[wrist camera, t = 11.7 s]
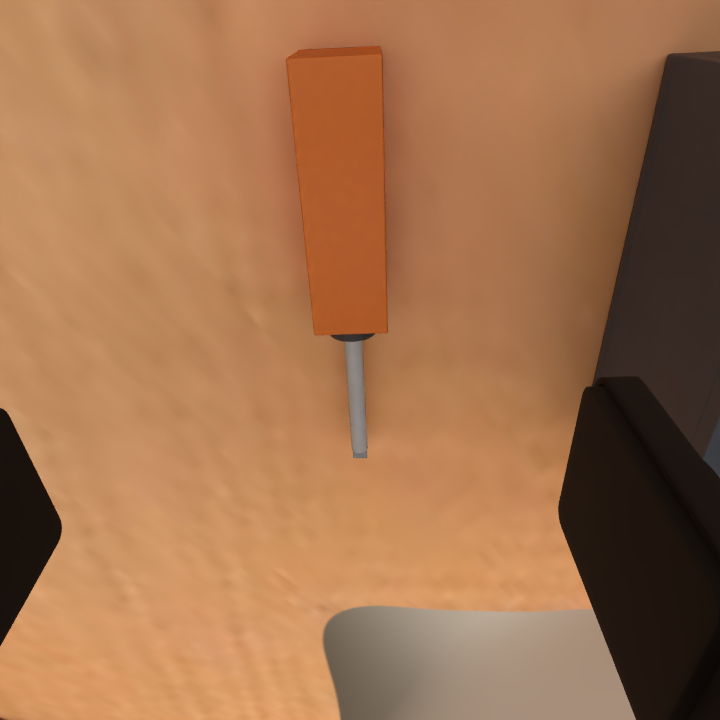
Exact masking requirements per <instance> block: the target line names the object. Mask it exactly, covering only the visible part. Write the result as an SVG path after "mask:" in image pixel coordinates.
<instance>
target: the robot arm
mask: <svg viewBox="0 0 720 720" xmlns="http://www.w3.org/2000/svg"><path fill="white" fill-rule="evenodd" d="M558 512H559V520H560V524H561V527H562V530H563V533H564V535H565V538H566V540H567V543H568V545H569V548H570V551H571V553H572V556H573V558H574V561H575V563H576V566H577V569H578V571H579V574H580V576H581V579H582V581H583V584H584V587H585V589H586V592H587V594H588V597H589V599H590V602H591V605H592V607H593V610H594V612H595V615H596V618H597V620H598V623H599V625H600V628H601V630H602V632H603V635H604V638H605V641H606V643H607V646H608V648H609V651H610V653H611V656H612V658H613V661H614V664H615V666H616V669H617V672H618V674H619V676H620V679H621V682H622V684H623V687H624V690H625V692H626V695H627V697H628V700H629V702H630V705H631V707H632V710H633V713H634V715H635V718H636V720H720V478H719V476H718V475H717V474H716V472H715V471H714V470H713V469H712V468H711V467H710V466H709V465H708V464H707V463H706V462H705V461H704V460H703V459H702V458H701V457H700V455H699V454H698V453H697V451H696V450H695V449H694V448H693V446H692V445H691V444H690V442H689V441H688V440H687V438H686V437H685V436H684V434H683V433H682V432H681V430H680V429H679V428H678V426H677V425H676V424H675V422H674V421H673V420H672V418H671V417H670V416H669V415H668V413H667V412H666V411H665V409H664V408H663V407H662V405H661V404H660V403H659V401H658V400H657V399H656V397H655V396H654V395H653V393H652V392H651V391H650V389H649V388H648V387H647V385H646V384H645V383H644V382H643V380H642V379H641V378H639V377H637V376H619V377H600V378H598V379H597V380H596V382H595V384H594V387H586V388H585V389H584V391H583V394H582V399H581V403H580V408H579V413H578V417H577V422H576V426H575V431H574V436H573V440H572V445H571V449H570V454H569V459H568V463H567V468H566V473H565V477H564V482H563V486H562V491H561V496H560V500H559V506H558ZM61 532H62V524H61V520H60V518H59V515H58V513H57V511H56V509H55V507H54V505H53V503H52V501H51V499H50V497H49V495H48V493H47V491H46V489H45V487H44V485H43V483H42V481H41V479H40V477H39V475H38V473H37V471H36V469H35V467H34V465H33V463H32V461H31V459H30V457H29V455H28V453H27V451H26V449H25V447H24V445H23V443H22V441H21V439H20V437H19V435H18V433H17V431H16V429H15V426H14V424H13V422H12V420H11V418H10V416H9V415H8V413H7V412H6V411H5V410H3V409H1V408H0V646H1V644H2V642H3V640H4V639H5V637H6V635H7V633H8V632H9V630H10V628H11V626H12V624H13V623H14V621H15V619H16V617H17V615H18V614H19V612H20V610H21V608H22V607H23V605H24V603H25V601H26V599H27V598H28V596H29V594H30V592H31V590H32V589H33V587H34V585H35V583H36V582H37V580H38V578H39V576H40V574H41V573H42V571H43V569H44V567H45V565H46V564H47V562H48V560H49V558H50V557H51V555H52V553H53V551H54V549H55V548H56V546H57V544H58V542H59V540H60V537H61Z"/></svg>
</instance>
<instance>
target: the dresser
mask: <svg viewBox="0 0 720 720" xmlns="http://www.w3.org/2000/svg"><path fill="white" fill-rule="evenodd" d="M619 376H637V377H639V378H641V379H642V380H643V382H644V383H645V384H646V385H647V387H648V388H649V389H650V391H651V392H652V393H653V395H654V396H655V397H656V399H657V400H658V401H659V403H660V404H661V405H662V407H663V408H664V409H665V411H666V412H667V413H668V415H669V416H670V417H671V418H672V420H673V421H674V422H675V424H676V425H677V426H678V428H679V429H680V430H681V432H682V433H683V434H684V436H685V437H686V438H687V440H688V441H689V442H690V444H691V445H692V446H693V448H694V449H695V450H696V451H697V453H698V454H699V455H700V457H701V458H702V459H703V460H704V461H705V462H706V463H707V464H708V465H709V466H710V467H711V468H712V469H713V470H714V471H715V472H716V474H717V475H718V476H719V478H720V51H719V52H698V53H677V54H669V55H668V57H667V61H666V65H665V70H664V74H663V79H662V83H661V87H660V92H659V96H658V101H657V105H656V109H655V114H654V118H653V123H652V127H651V131H650V136H649V140H648V144H647V149H646V153H645V158H644V162H643V166H642V171H641V175H640V180H639V184H638V188H637V193H636V197H635V202H634V206H633V210H632V215H631V219H630V224H629V228H628V232H627V237H626V241H625V246H624V250H623V254H622V259H621V263H620V268H619V272H618V276H617V281H616V285H615V290H614V294H613V298H612V303H611V307H610V311H609V316H608V320H607V325H606V329H605V333H604V338H603V342H602V347H601V351H600V355H599V360H598V364H597V369H596V373H595V377H594V382H593V386H592V387H594V384H595V382H596V380H597V379H598V378H600V377H619Z"/></svg>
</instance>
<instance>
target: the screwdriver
mask: <svg viewBox="0 0 720 720" xmlns="http://www.w3.org/2000/svg"><path fill="white" fill-rule="evenodd" d="M286 63H287V73H288V82H289V92H290V102H291V111H292V121H293V131H294V141H295V150H296V160H297V170H298V180H299V189H300V199H301V209H302V219H303V228H304V238H305V248H306V258H307V267H308V277H309V287H310V297H311V306H312V316H313V326H314V334H315V335H331V336H332V337H333V338H334V339H337V340H340V341H345V354H346V368H347V383H348V397H349V412H350V426H351V441H352V450H353V457H354V458H367V448H368V446H367V425H366V404H365V384H364V363H363V342H362V340H366V339H368V338H370V337H372V336H373V335H374V334H375V333H387V332H388V324H387V272H386V219H385V167H384V114H383V61H382V52H381V49H380V46H370V47H350V48H330V49H310V50H298V51H297V52H295V53H294V54H293V55H291V56H290V57H288V58H287V59H286Z"/></svg>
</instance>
